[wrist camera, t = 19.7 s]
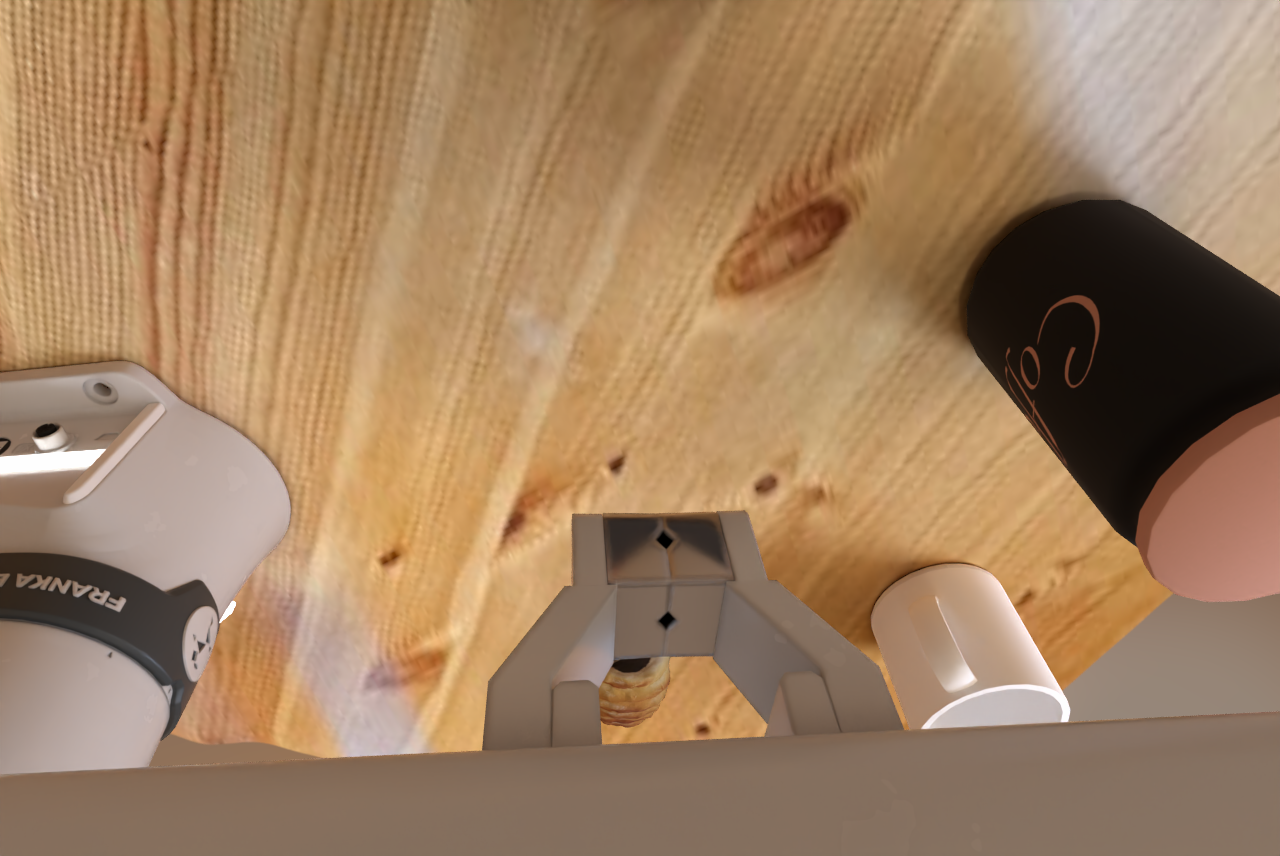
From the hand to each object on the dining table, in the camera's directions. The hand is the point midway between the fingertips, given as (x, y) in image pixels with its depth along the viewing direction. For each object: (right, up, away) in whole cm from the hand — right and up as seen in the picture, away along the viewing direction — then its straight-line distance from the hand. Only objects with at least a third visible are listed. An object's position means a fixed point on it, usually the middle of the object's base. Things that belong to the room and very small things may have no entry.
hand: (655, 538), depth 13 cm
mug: (+21, -11, +45) cm, 51 cm away
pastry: (-1, -17, +48) cm, 51 cm away
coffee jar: (+23, +10, +29) cm, 38 cm away
